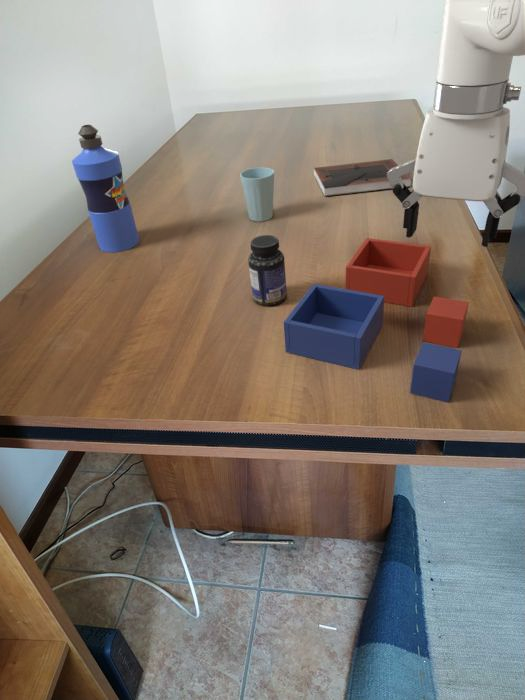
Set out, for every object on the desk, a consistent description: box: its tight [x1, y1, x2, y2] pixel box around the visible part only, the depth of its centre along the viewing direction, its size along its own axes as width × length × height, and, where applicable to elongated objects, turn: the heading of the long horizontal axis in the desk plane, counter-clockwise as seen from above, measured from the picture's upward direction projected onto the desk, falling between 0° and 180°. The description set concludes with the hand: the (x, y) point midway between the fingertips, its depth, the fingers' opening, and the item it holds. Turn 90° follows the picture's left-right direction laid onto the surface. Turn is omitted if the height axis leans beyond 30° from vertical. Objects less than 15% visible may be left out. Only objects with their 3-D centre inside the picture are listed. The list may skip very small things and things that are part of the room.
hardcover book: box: [313, 158, 412, 197], centre depth 130 cm, size 16×2×22 cm
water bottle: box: [71, 124, 140, 253], centre depth 105 cm, size 9×9×25 cm
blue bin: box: [283, 283, 385, 370], centre depth 76 cm, size 12×12×6 cm
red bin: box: [344, 237, 432, 308], centre depth 87 cm, size 12×12×6 cm
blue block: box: [409, 342, 462, 403], centre depth 65 cm, size 5×5×5 cm
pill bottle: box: [247, 234, 288, 307], centre depth 85 cm, size 6×6×11 cm
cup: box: [239, 166, 275, 223], centre depth 114 cm, size 8×8×10 cm
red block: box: [422, 296, 470, 349], centre depth 74 cm, size 5×5×5 cm
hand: (447, 237), depth 67 cm, fingers open, 9 cm apart
